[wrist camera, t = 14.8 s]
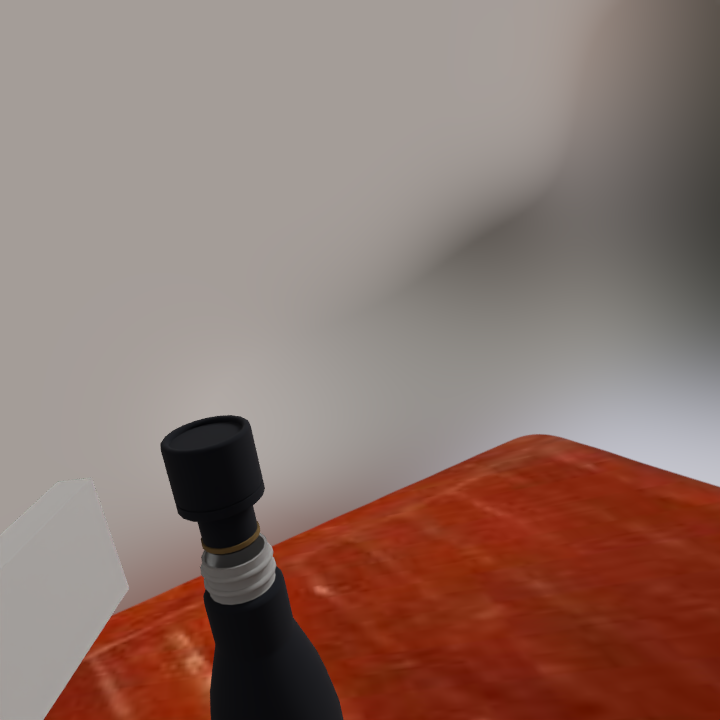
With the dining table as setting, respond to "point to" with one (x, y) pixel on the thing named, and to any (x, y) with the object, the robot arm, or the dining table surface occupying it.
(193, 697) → the dining table surface
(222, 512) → the black metal bottle
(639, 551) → the dining table surface
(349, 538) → the dining table surface
